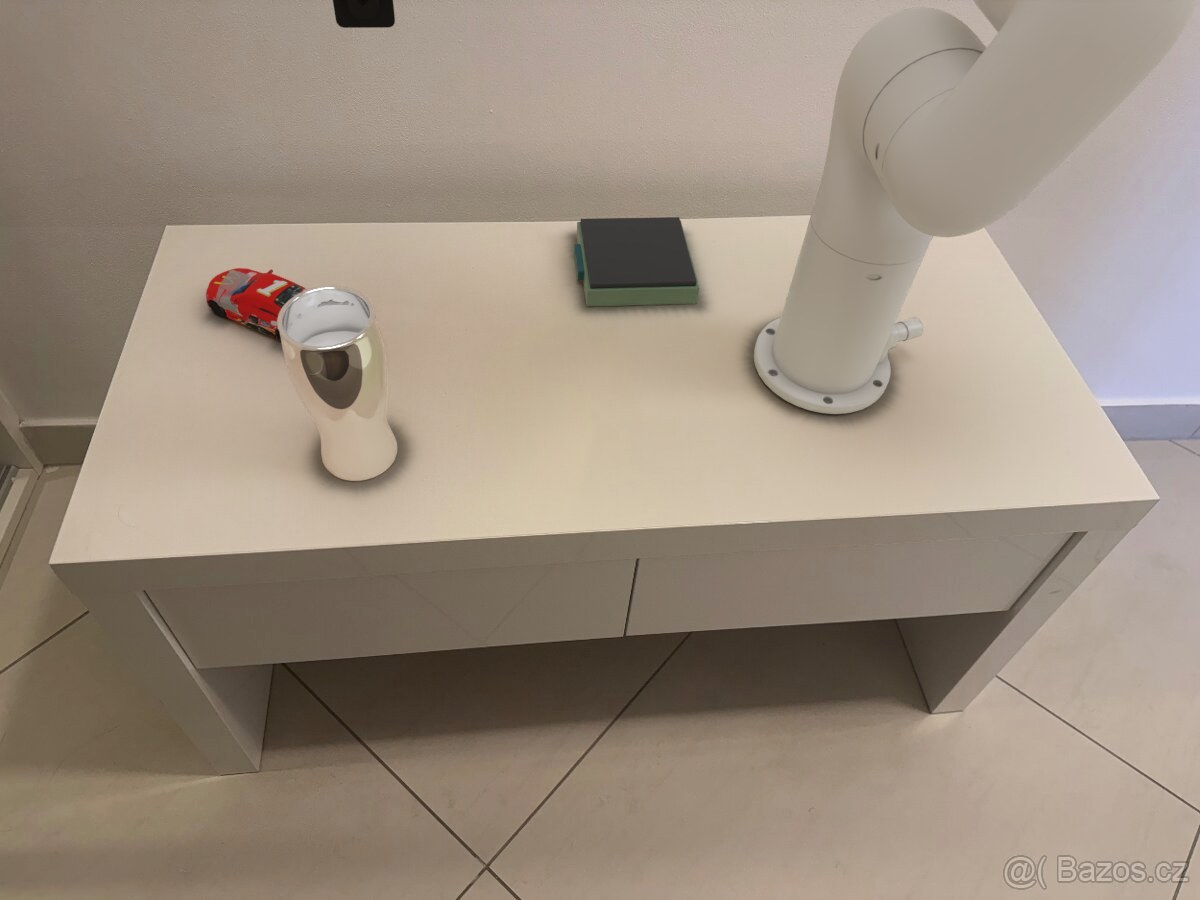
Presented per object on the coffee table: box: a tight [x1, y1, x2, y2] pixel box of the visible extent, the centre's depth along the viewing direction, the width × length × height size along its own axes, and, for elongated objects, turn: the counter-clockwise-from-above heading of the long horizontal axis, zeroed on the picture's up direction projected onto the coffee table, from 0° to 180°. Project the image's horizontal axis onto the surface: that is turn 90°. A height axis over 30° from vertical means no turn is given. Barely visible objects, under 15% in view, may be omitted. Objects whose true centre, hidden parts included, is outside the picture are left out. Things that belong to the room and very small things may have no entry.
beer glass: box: [277, 285, 398, 482], centre depth 65 cm, size 7×7×15 cm
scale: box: [573, 216, 700, 307], centre depth 87 cm, size 12×11×3 cm
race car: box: [205, 267, 309, 342], centre depth 79 cm, size 13×5×4 cm, turn 62°
